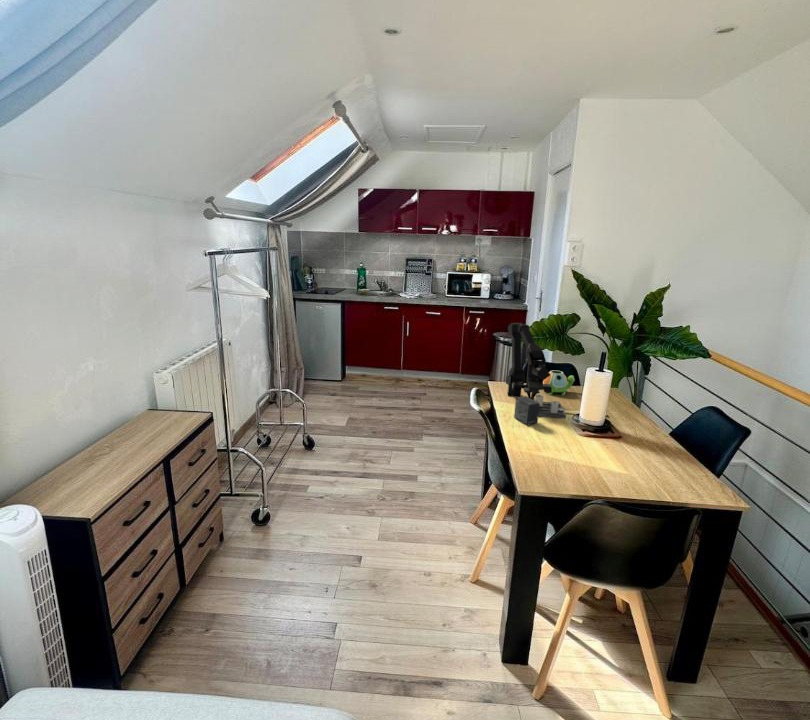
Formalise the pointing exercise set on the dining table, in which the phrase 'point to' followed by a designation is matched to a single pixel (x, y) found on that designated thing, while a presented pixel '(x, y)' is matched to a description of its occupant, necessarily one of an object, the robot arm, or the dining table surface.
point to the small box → (526, 410)
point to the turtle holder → (558, 381)
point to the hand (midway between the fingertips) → (530, 403)
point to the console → (545, 412)
